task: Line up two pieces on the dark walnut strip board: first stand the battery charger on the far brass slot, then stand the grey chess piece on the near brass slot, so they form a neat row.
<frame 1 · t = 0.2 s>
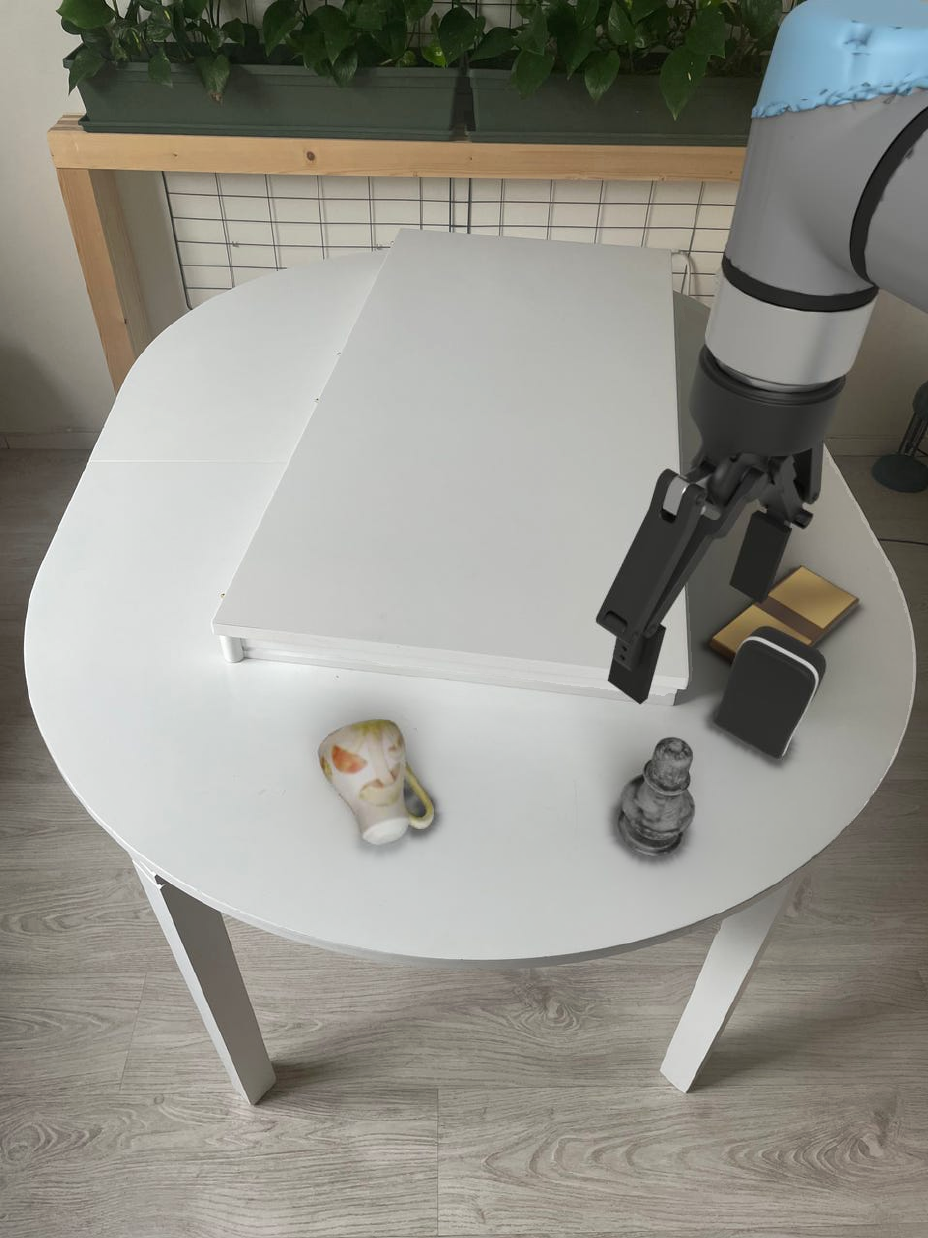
hand: (690, 638, 63), 21 cm above the table, tool pointing down, fingers open, 13 cm apart
mug: (377, 803, 77), on the table
battery charger: (753, 731, 84), on the table
grey chess piece: (649, 828, 76), on the table
strip board: (784, 626, 93), on the table
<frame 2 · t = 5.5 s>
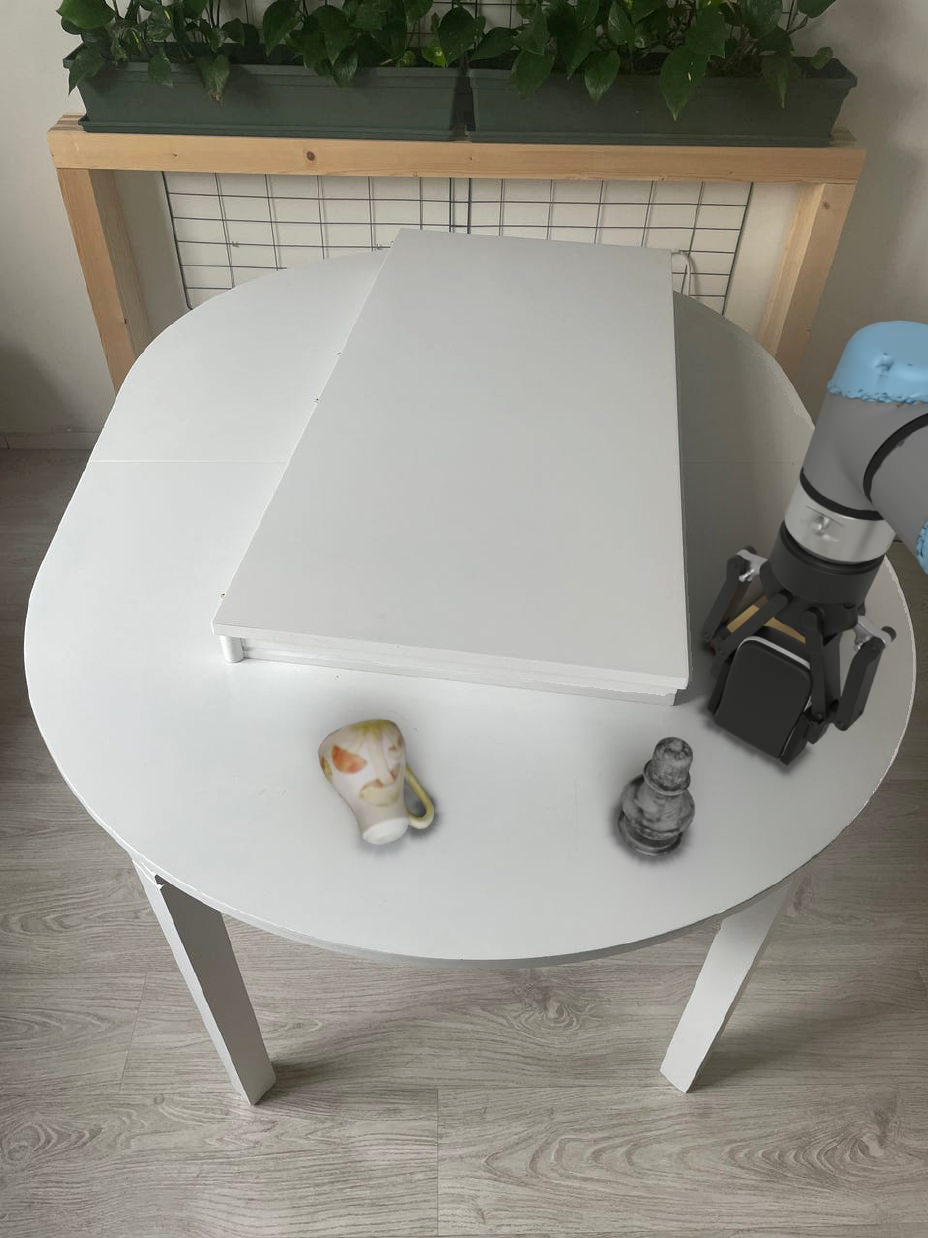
hand: (755, 728, 83), 0 cm above the table, tool pointing down, fingers closed on battery charger, 7 cm apart
battery charger: (752, 731, 84), on the table, touching gripper
everything else where it was.
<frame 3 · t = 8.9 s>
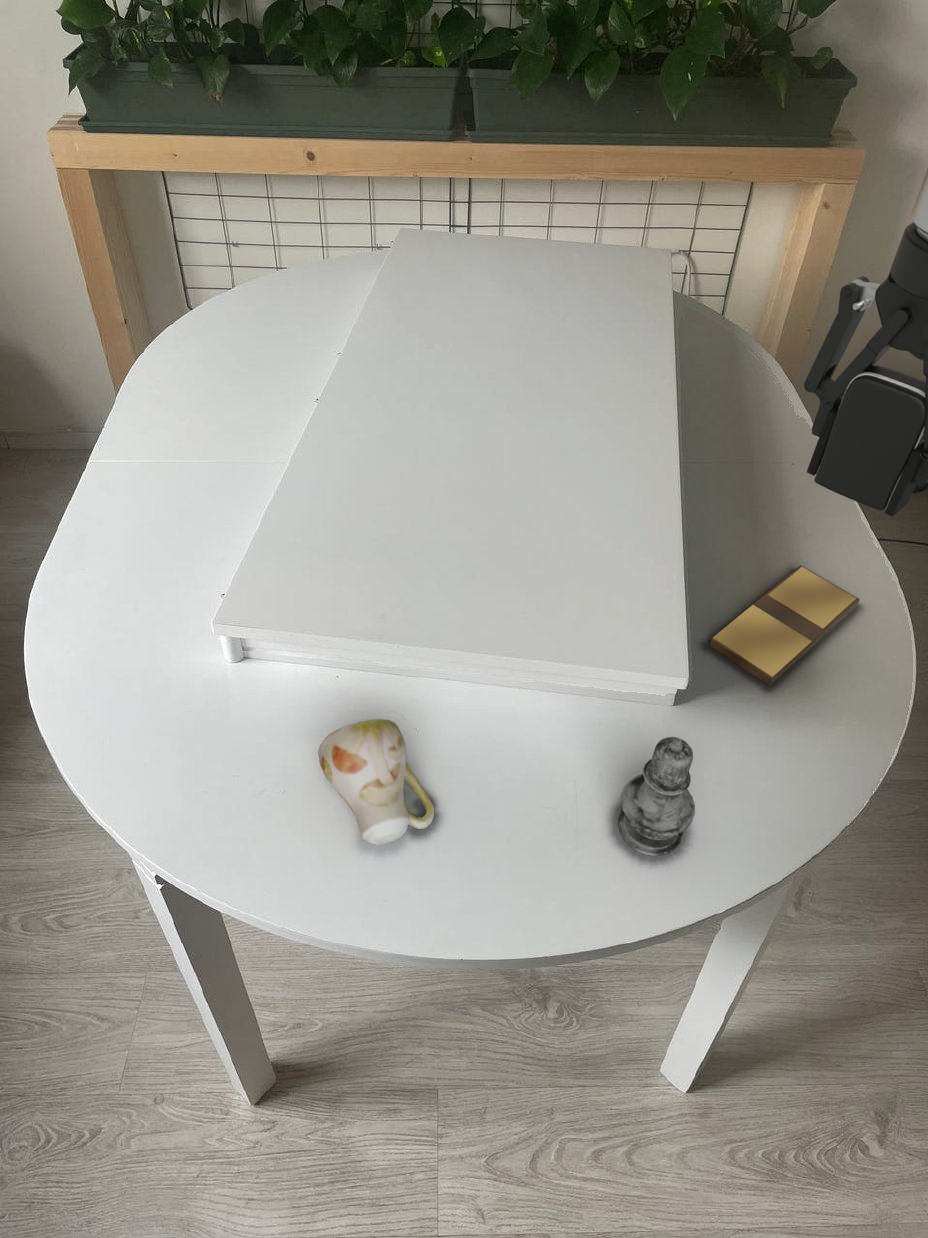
hand: (856, 487, 83), 16 cm above the table, tool pointing down, fingers closed on battery charger, 7 cm apart
battery charger: (853, 491, 83), point 16 cm above the table, touching gripper
everything else where it was.
when the fingers open (2 cm above the table, at t = 12.5 s): battery charger stays where it is, resting on strip board.
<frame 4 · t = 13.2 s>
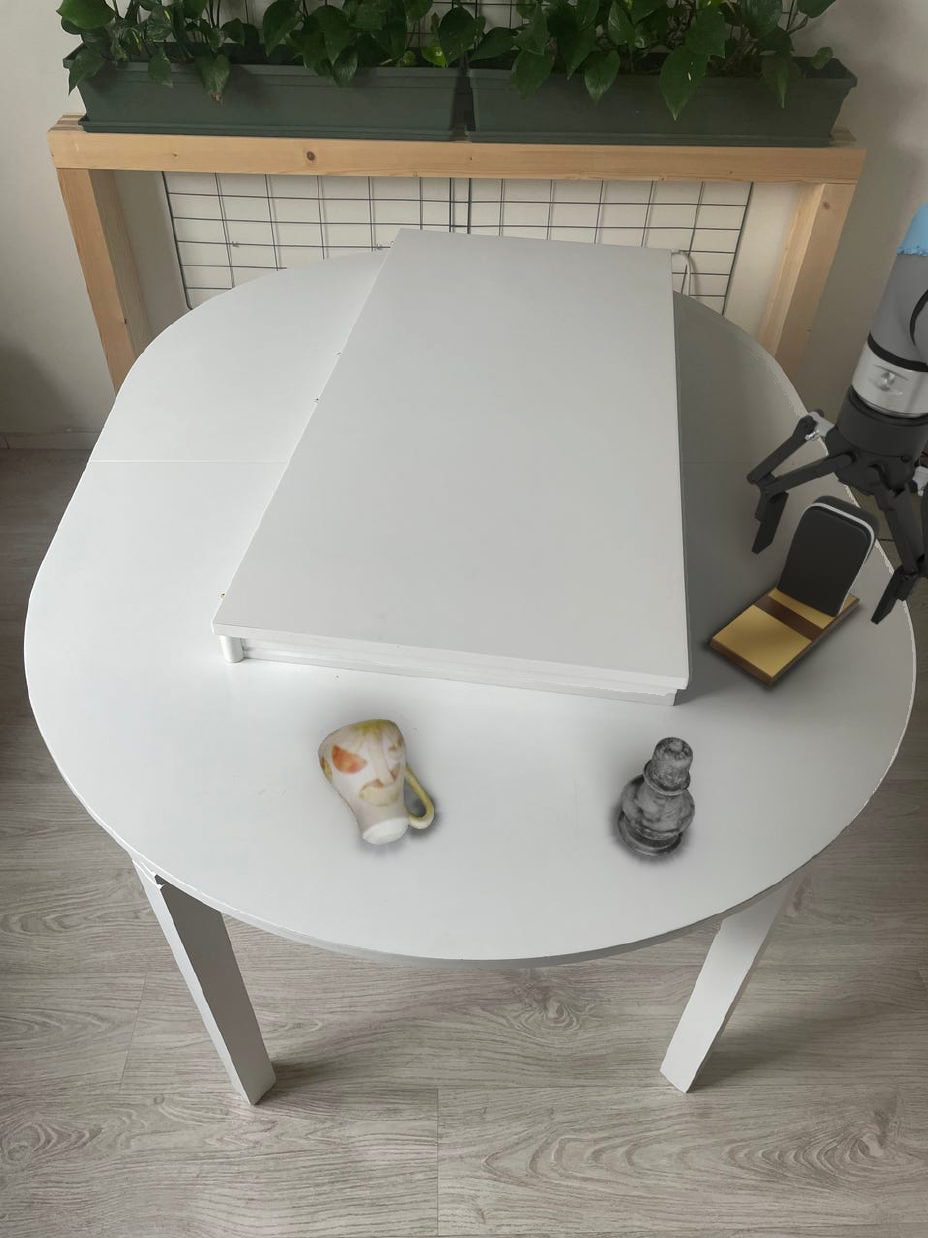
hand: (818, 580, 93), 4 cm above the table, tool pointing down, fingers open, 13 cm apart
battery charger: (810, 597, 95), point 1 cm above the table, touching strip board
everything else where it was.
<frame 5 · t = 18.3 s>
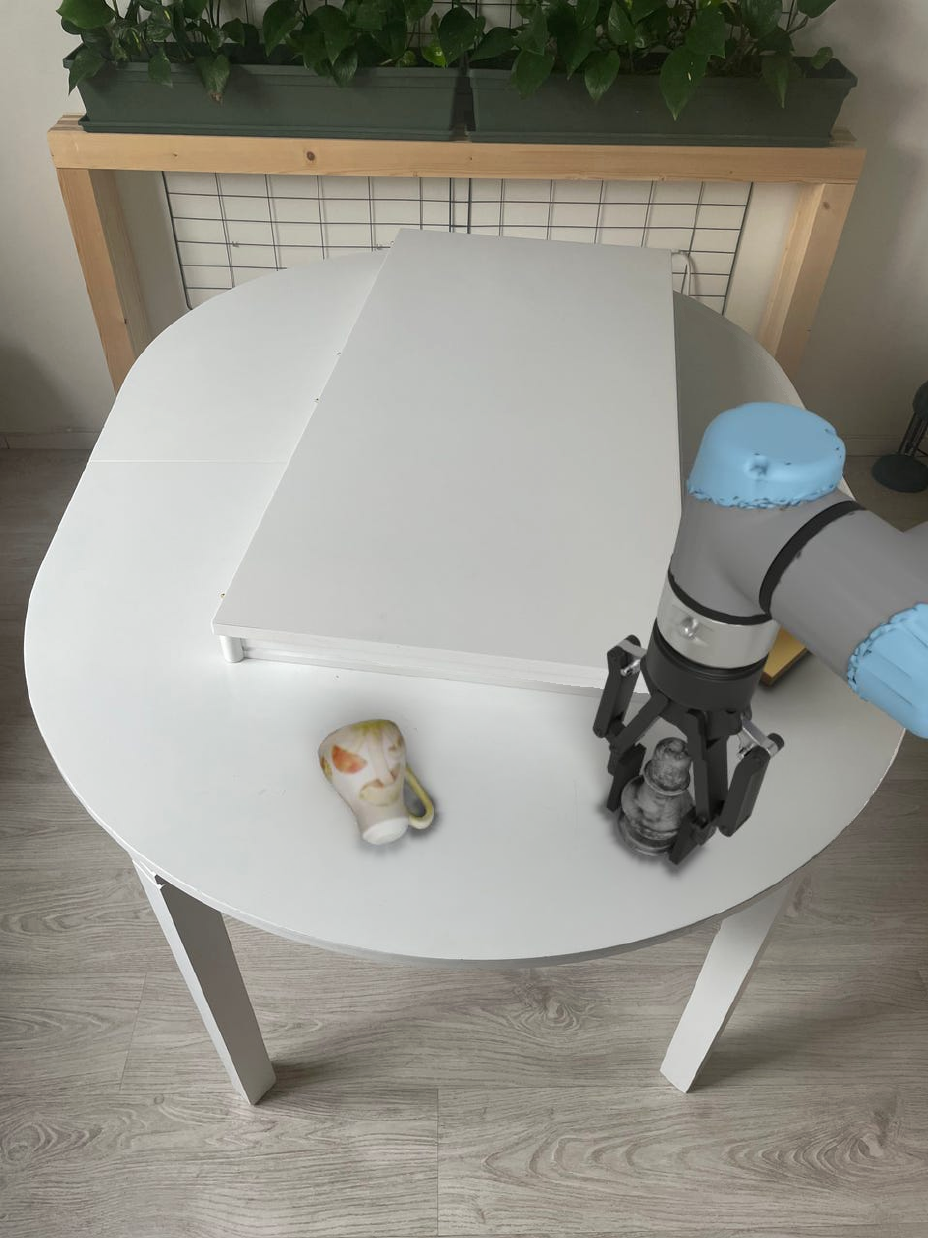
hand: (651, 825, 76), 0 cm above the table, tool pointing down, fingers closed on grey chess piece, 6 cm apart
grey chess piece: (650, 828, 76), on the table, touching gripper
everything else where it was.
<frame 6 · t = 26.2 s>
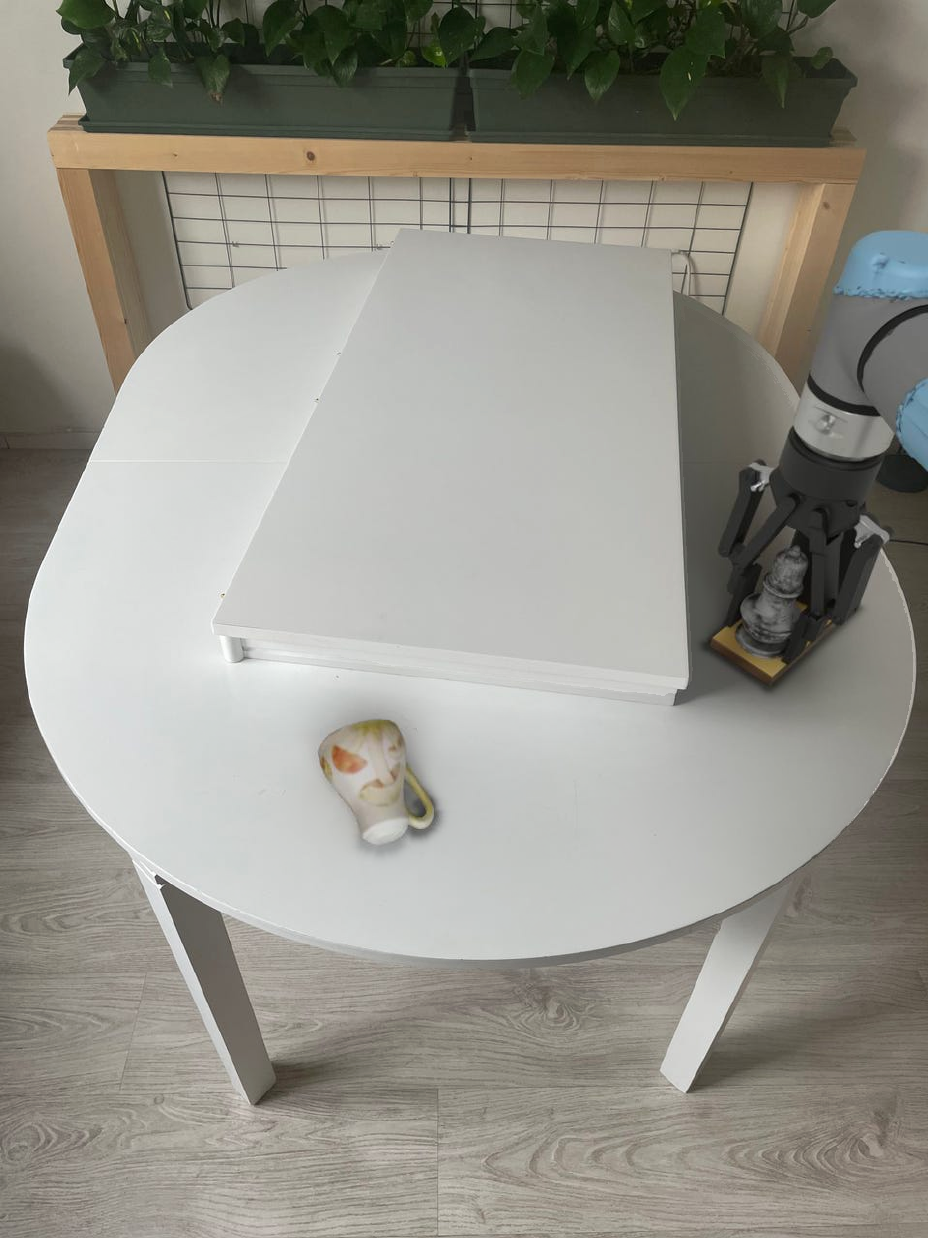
hand: (763, 637, 90), 2 cm above the table, tool pointing down, fingers closed on grey chess piece, 6 cm apart
grey chess piece: (762, 640, 90), point 1 cm above the table, touching gripper
everything else where it was.
when the fingers open (3 cm above the table, at t = 31.6 s): grey chess piece drops 1 cm, resting on strip board.
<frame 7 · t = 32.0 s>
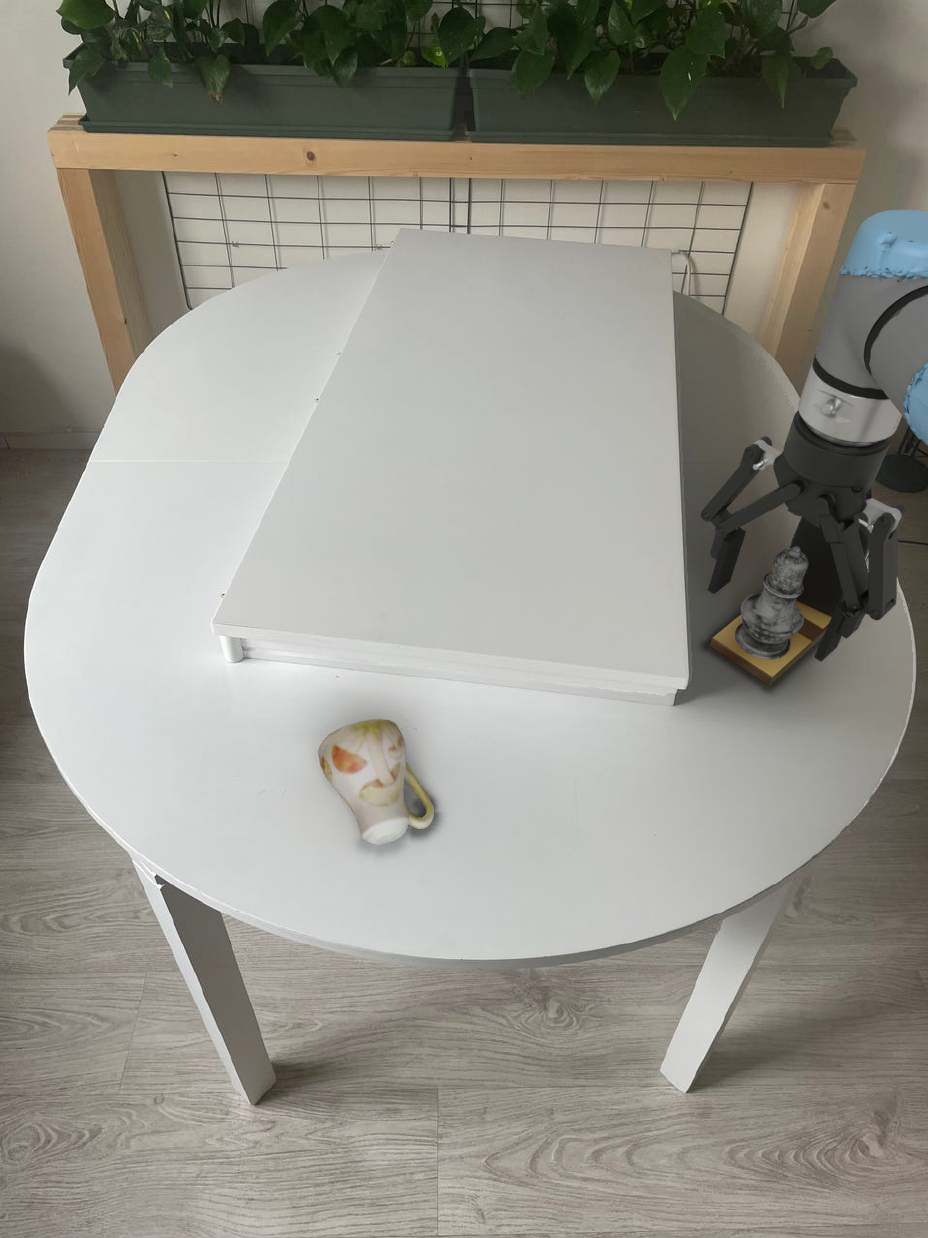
hand: (770, 618, 88), 4 cm above the table, tool pointing down, fingers open, 11 cm apart
grey chess piece: (762, 640, 90), point 1 cm above the table, touching strip board
everything else where it was.
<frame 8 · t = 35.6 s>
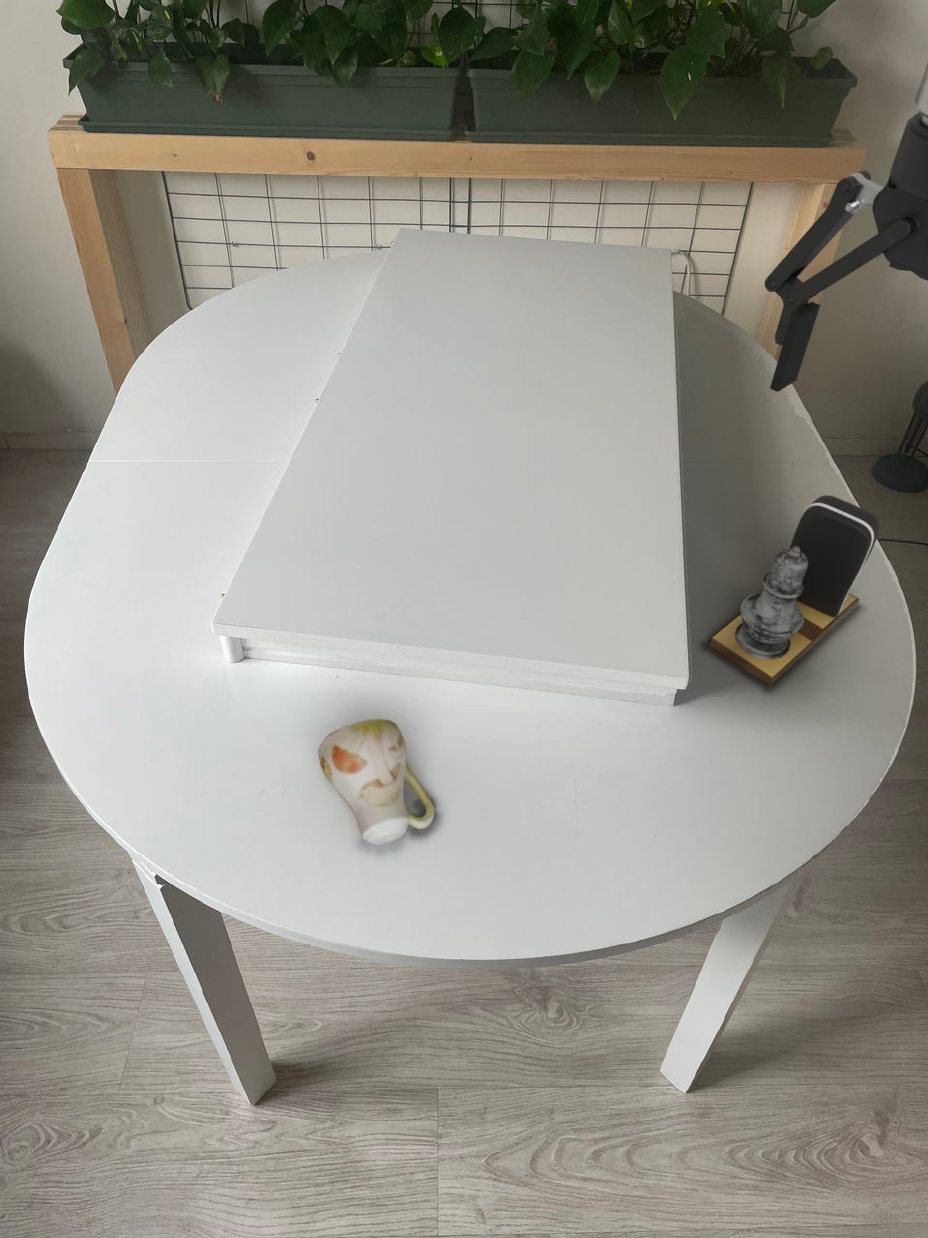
hand: (858, 420, 71), 27 cm above the table, tool pointing down, fingers open, 13 cm apart
nothing on the table moved.
at the end: battery charger 0.1 cm from the target spot on the strip board, point 1.1 cm above the strip board's base; grey chess piece 0.0 cm from the target spot on the strip board, point 1.1 cm above the strip board's base; grey chess piece tilted 0° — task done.
